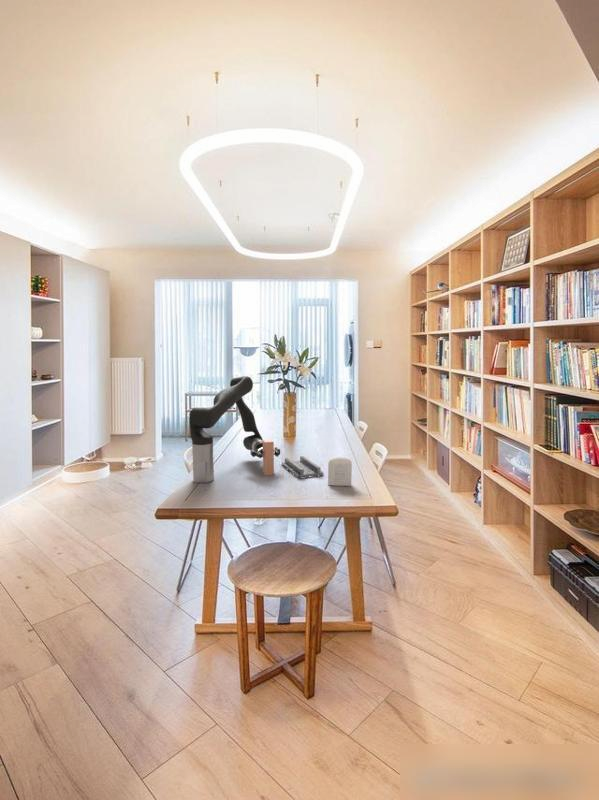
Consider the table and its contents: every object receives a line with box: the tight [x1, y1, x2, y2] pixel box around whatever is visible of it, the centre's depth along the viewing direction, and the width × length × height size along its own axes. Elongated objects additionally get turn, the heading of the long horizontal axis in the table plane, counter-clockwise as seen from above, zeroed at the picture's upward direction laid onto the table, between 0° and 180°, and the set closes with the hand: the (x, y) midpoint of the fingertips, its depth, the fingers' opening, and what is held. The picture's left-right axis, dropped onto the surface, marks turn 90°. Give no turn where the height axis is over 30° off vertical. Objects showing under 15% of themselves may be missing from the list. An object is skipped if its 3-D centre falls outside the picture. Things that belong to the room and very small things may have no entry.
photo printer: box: [327, 456, 353, 487], centre depth 182 cm, size 10×4×12 cm, turn 85°
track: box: [281, 455, 324, 479], centre depth 205 cm, size 24×13×4 cm, turn 20°
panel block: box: [262, 439, 275, 476], centre depth 199 cm, size 4×5×16 cm
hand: (269, 455), depth 197 cm, fingers open, 7 cm apart
